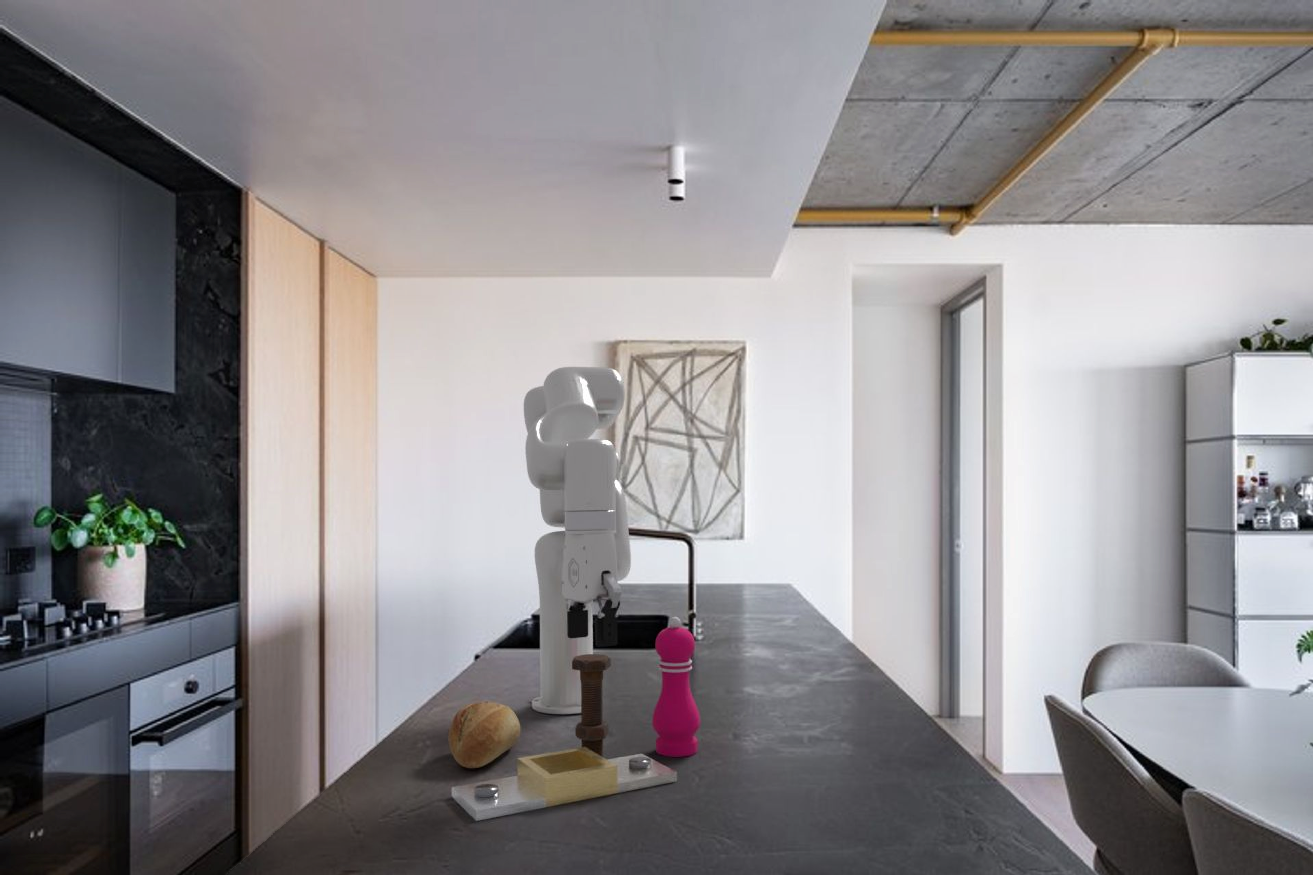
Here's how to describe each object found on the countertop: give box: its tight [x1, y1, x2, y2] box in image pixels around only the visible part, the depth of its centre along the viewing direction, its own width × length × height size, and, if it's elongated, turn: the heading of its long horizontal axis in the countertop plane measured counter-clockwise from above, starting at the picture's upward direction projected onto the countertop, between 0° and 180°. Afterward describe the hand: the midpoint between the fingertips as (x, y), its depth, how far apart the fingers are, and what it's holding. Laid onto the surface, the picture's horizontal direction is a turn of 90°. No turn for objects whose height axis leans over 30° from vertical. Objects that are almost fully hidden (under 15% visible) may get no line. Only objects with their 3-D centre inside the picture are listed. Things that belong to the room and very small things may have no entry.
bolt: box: [572, 653, 612, 758], centre depth 133 cm, size 6×5×15 cm
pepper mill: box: [651, 616, 701, 758], centre depth 138 cm, size 7×7×20 cm
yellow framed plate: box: [451, 746, 678, 822], centre depth 121 cm, size 10×28×4 cm, turn 119°
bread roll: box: [448, 701, 521, 769], centre depth 135 cm, size 10×15×8 cm, turn 172°
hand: (591, 641), depth 133 cm, fingers open, 9 cm apart
